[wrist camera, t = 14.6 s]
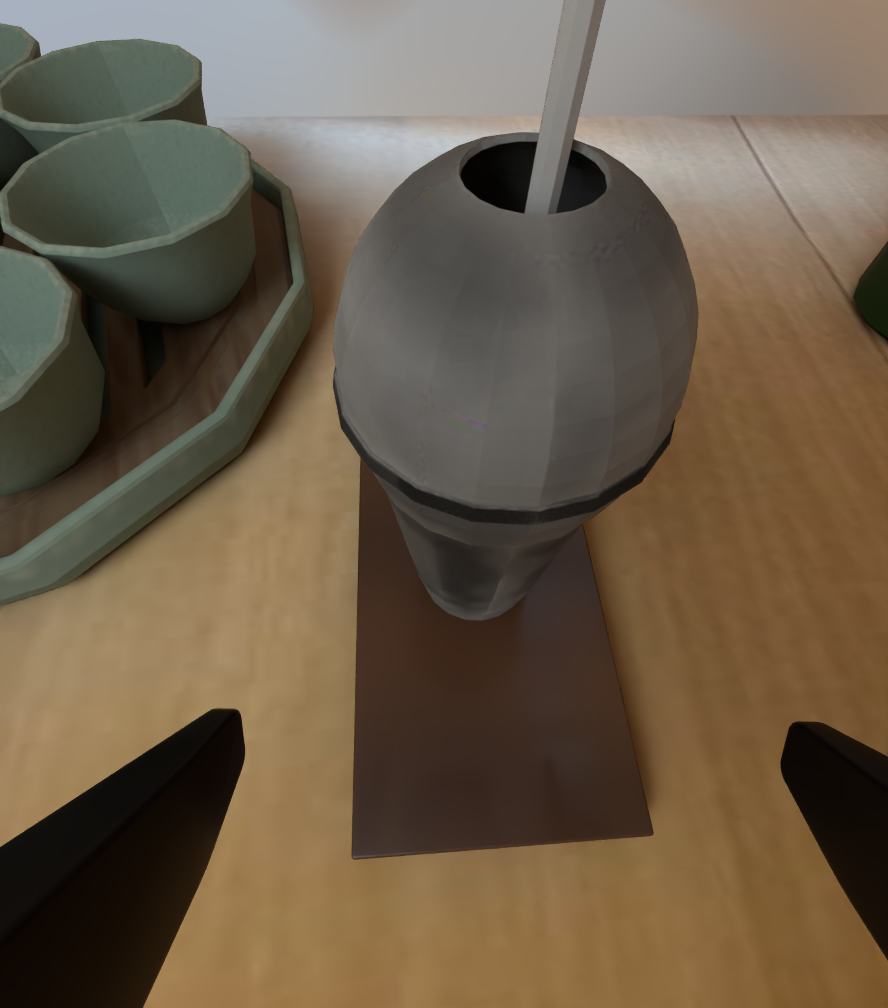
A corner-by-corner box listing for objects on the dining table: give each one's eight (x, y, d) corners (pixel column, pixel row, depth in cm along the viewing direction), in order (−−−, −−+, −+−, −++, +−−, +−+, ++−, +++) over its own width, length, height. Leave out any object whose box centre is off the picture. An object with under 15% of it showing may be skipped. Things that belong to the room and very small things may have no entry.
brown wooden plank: (639, 830, 17) (655, 835, 16) (358, 853, 17) (350, 860, 15) (545, 399, 27) (550, 380, 25) (365, 409, 26) (361, 390, 25)
